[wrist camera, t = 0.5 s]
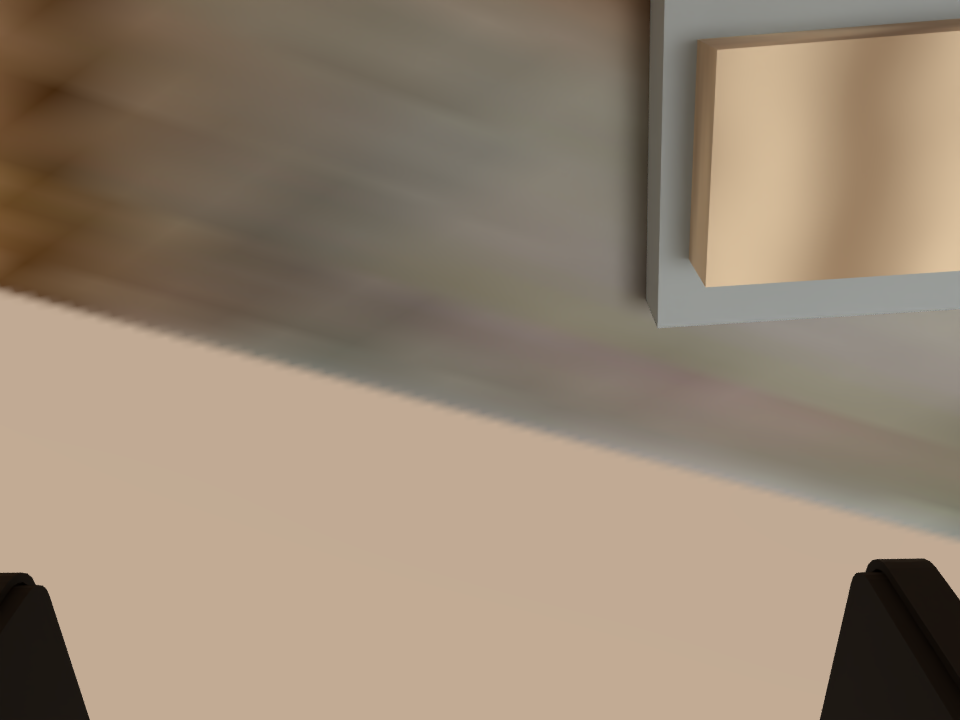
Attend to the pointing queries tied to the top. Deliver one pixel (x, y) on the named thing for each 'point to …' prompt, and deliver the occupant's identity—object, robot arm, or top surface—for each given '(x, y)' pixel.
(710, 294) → the block
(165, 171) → the top surface
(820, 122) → the birch tile
